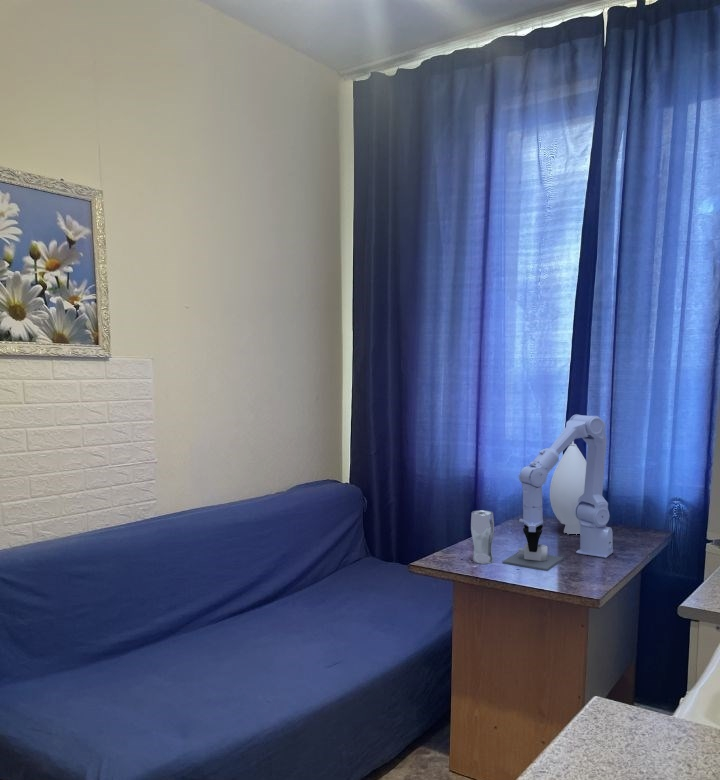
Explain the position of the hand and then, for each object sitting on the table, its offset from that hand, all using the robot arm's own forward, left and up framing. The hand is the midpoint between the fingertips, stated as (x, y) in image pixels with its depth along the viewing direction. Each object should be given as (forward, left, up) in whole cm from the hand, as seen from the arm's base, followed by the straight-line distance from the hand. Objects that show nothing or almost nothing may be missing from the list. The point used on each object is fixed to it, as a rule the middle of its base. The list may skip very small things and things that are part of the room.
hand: (533, 549), depth 197 cm
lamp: (+1, -41, -4) cm, 41 cm away
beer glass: (+13, +8, -4) cm, 16 cm away
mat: (0, 0, -3) cm, 3 cm away
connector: (0, 0, -3) cm, 3 cm away
